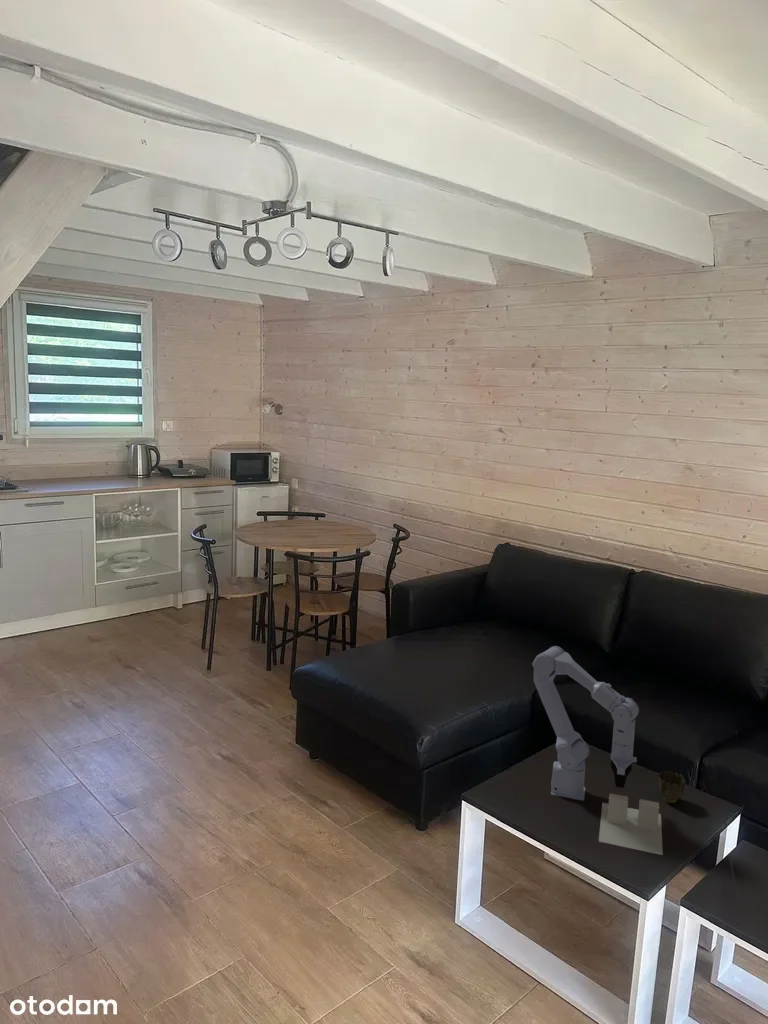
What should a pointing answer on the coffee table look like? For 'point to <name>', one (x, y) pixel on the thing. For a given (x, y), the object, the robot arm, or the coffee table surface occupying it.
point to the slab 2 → (648, 815)
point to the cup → (671, 786)
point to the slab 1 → (617, 809)
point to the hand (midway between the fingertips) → (619, 786)
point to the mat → (630, 833)
